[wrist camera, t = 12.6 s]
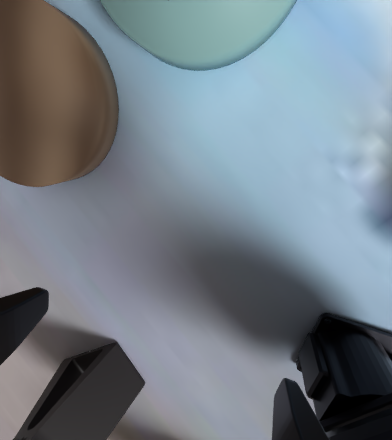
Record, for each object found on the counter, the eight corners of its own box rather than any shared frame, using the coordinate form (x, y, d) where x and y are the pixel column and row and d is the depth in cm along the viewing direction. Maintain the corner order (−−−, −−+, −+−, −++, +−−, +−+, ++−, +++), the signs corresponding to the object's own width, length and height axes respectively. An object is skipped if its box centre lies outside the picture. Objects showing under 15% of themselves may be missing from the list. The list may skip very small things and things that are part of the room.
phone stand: (118, 341, 28) (28, 476, 17) (146, 381, 29) (78, 533, 18) (64, 358, 31) (-43, 483, 20) (91, 394, 32) (4, 531, 21)
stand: (128, 24, 18) (104, 3, 15) (110, 197, 23) (89, 206, 20) (-26, -7, 20) (-73, -31, 17) (-13, 160, 24) (-48, 163, 21)
